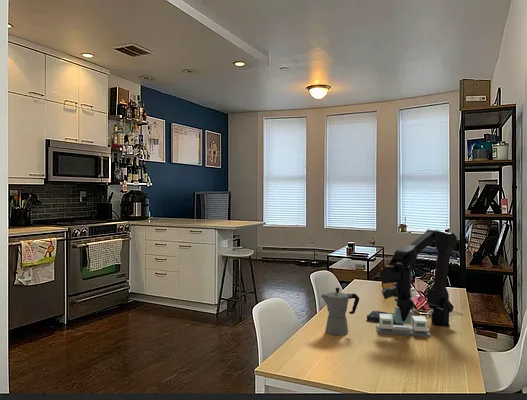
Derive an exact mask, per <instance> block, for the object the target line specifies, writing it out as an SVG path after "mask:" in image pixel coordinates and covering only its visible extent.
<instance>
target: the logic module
mask: <svg viewBox="0 0 527 400" xmlns="http://www.w3.org/2000/svg"><path fill="white" fill-rule="evenodd" d="M394 314H395V323H402V325H412V309H411V310H410V312H409V314H408V316H407V318H406V320H405V321H402V317H401V311H400V308H399V307H394Z"/></svg>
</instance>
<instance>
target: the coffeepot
mask: <svg viewBox="0 0 527 400" xmlns="http://www.w3.org/2000/svg"><path fill="white" fill-rule="evenodd" d="M340 289H341V288H340V287H335V291H334V292H333V291H332V292H328V293H325V294H322V295H320V297H321V298H322V300H323V301H324V303H325V304H326V307H327V312H328V316H327V321H326V326H325V333H327V334H328V335H332V336H345V335H347V334H349V327H348V320H347V316H346V314H347V311H348V306H349V305H348V304H349V300H350V299H351V300H352V299H354V301H353V306H352V310H351V311H348V313H349V314H350V315H354V314H355V313H356V310H357V307H358V305H359V302H360V297H359V296H358V295H357V294H356V293H345V292H341V291H340Z"/></svg>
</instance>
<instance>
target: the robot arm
mask: <svg viewBox="0 0 527 400" xmlns="http://www.w3.org/2000/svg"><path fill="white" fill-rule="evenodd" d="M457 242H458V238H457V235H456V234H455V233H453V232H446V231H440V230H438V229H433V228H432V229H431V228H429V229H426V230H425V232H424V233H423V234H421V235H420V236H419V237H417V238H416V239H415V240H413V241H412V242H411V243H410V244H409V245H405V246H403V247H401V248H398V249H397V250H395V252H394V254H393V256H392V258H391V260H390V262H389V263H388V265H383V269H381V271H380V272H379V279H380V282H382V284H393V283H394V285H393V286H389V287H385V288H382V289H381V293H382V297H383V299H385V300H387V299H389V298H392V297H393V298H394V301H395V302H396V308H400V311H401V317H402V321H405V320H406V318H407V316H408V314H409V312H410V310H411V311H412V309H414V308H415V302H414V300H413V299H412V289H411V288H412V287H413V286H412V271H414V270H416V267H414V266H413V264H414V263H415V262H416V260H417V259H418V255H419V254H420V253H421V252H423V251H424V250H425V249H426V248H428V247H429V246H430V245H431V244H432V243H434V245H435V248H436V250H437V255H436V256H437V257H436V264H435V272H434V278H433V284H432V286H431V287H429V288H427V289H426V290H427V293H426V297H425V298H426V302H427V304H428V308H429V309H432V311H430V321H431V323H432V326H435V327H437V326H439V327H450V326H451V325H450V313H452V312H453V311H454V309H455V308H454V305H453V304H452V303H451V302H450V298H449V297H450V295H449V291H448V289H447V280H448V273H449V269H450V268H449V265H450V260H451V254H452V253H453V251H454V250H455V249H456V245H457Z"/></svg>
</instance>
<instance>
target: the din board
mask: <svg viewBox="0 0 527 400" xmlns="http://www.w3.org/2000/svg"><path fill="white" fill-rule="evenodd" d="M376 330H377V332H376V333H377V334H383V335H396V336H407V337H421V338H431V337H432V335H431V333H430V329H429V327H428V320H427V318H426V316H422V315H420V316H419V315H411V325H407V324H402V325H393V316H392V314H379V322H376Z"/></svg>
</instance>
